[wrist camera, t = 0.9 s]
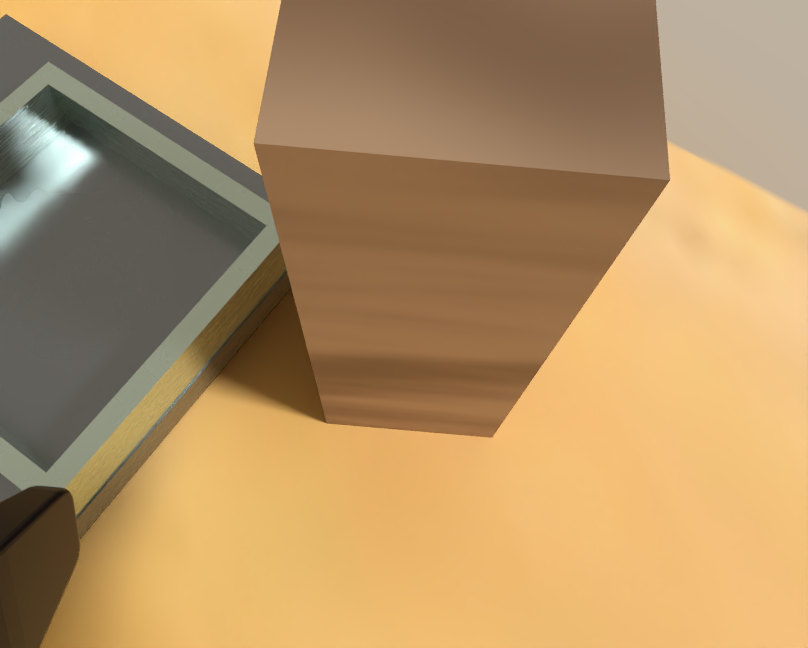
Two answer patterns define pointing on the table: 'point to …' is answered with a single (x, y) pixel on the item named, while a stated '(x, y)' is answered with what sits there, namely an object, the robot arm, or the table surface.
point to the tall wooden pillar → (453, 190)
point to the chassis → (113, 272)
